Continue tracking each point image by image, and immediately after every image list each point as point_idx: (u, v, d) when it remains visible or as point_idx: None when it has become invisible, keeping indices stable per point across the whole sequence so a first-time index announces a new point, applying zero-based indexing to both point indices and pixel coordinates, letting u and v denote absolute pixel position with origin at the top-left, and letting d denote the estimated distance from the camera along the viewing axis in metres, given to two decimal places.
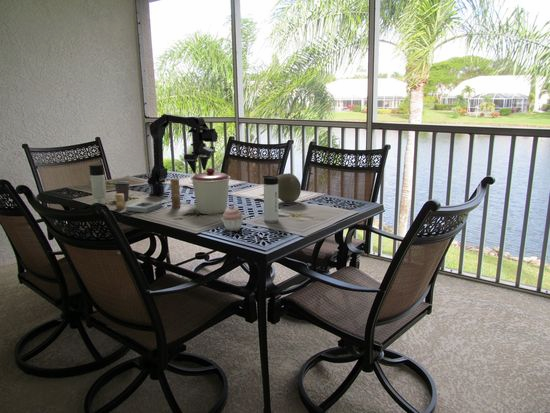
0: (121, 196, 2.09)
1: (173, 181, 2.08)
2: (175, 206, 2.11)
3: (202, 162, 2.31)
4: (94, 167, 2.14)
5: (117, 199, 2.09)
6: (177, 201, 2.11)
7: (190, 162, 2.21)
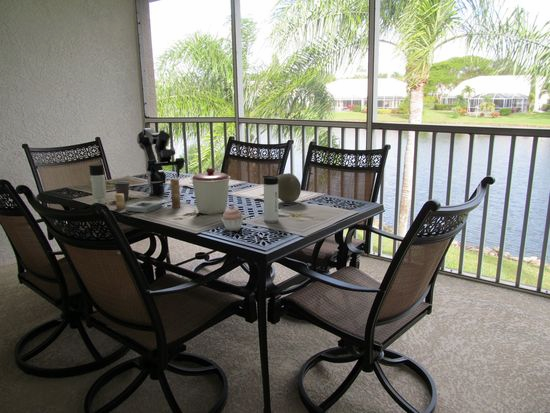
0: (121, 196, 2.09)
1: (173, 181, 2.08)
2: (175, 206, 2.11)
3: (176, 171, 2.21)
4: (94, 167, 2.14)
5: (117, 199, 2.09)
6: (177, 201, 2.11)
7: (154, 171, 2.17)
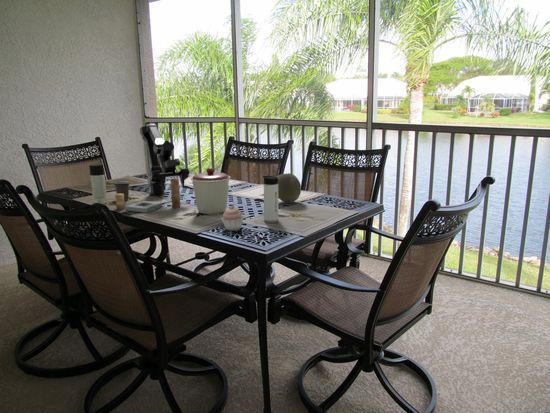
0: (121, 196, 2.09)
1: (173, 181, 2.08)
2: (175, 206, 2.11)
3: (181, 182, 2.17)
4: (94, 167, 2.14)
5: (117, 199, 2.09)
6: (177, 201, 2.11)
7: (158, 182, 2.12)
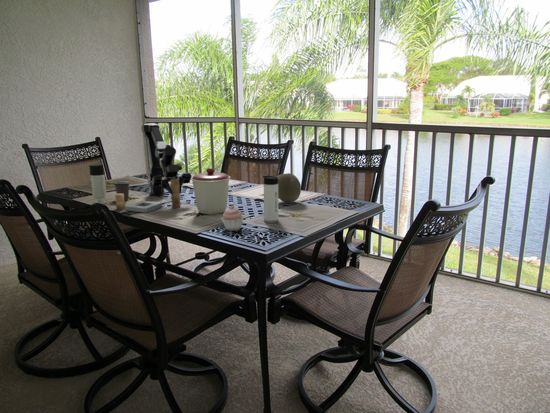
0: (121, 196, 2.09)
1: (173, 181, 2.08)
2: (175, 206, 2.11)
3: None
4: (94, 167, 2.14)
5: (117, 199, 2.09)
6: (177, 201, 2.11)
7: (165, 186, 2.12)
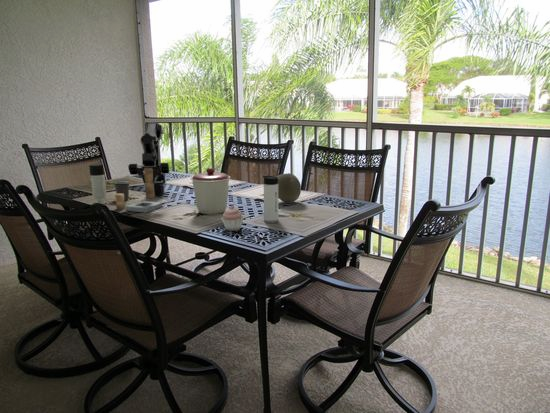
0: (121, 196, 2.09)
1: (145, 170, 2.05)
2: (147, 196, 2.08)
3: None
4: (94, 167, 2.14)
5: (117, 199, 2.09)
6: (149, 190, 2.07)
7: None
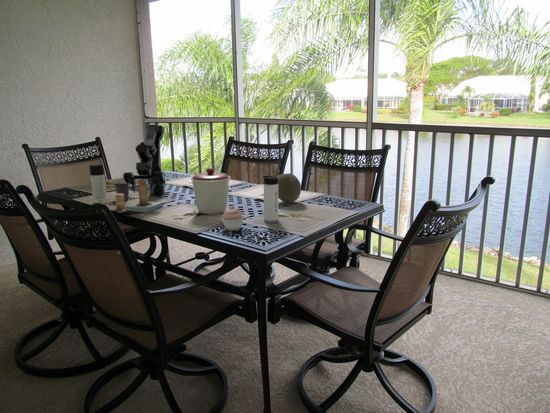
0: (121, 196, 2.09)
1: (139, 182, 2.06)
2: None
3: None
4: (94, 167, 2.14)
5: (117, 199, 2.09)
6: (143, 202, 2.08)
7: None
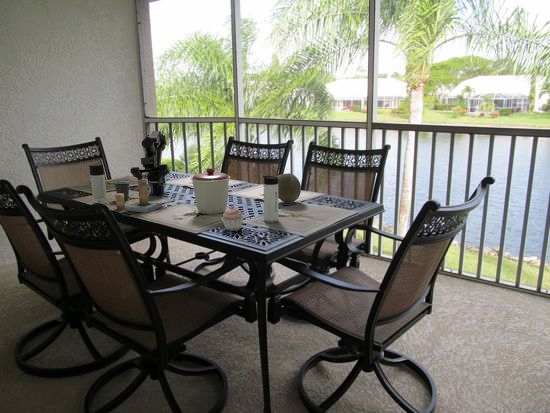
0: (121, 196, 2.09)
1: (139, 182, 2.06)
2: None
3: None
4: (94, 167, 2.14)
5: (117, 199, 2.09)
6: (143, 202, 2.08)
7: None
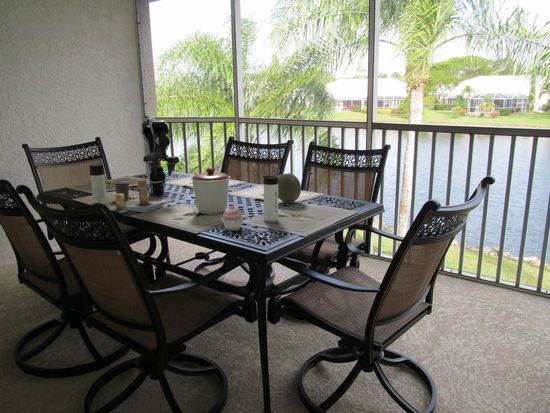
0: (121, 196, 2.09)
1: (139, 182, 2.06)
2: None
3: None
4: (94, 167, 2.14)
5: (117, 199, 2.09)
6: (143, 202, 2.08)
7: None
